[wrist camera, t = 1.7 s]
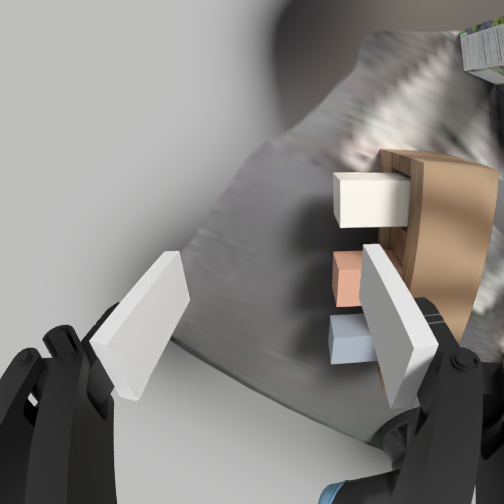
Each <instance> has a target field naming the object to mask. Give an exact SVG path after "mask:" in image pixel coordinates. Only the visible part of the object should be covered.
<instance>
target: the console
mask: <svg viewBox="0 0 504 504" xmlns="http://www.w3.org/2000/svg"><path fill="white" fill-rule="evenodd" d="M381 173H405V174H407V175H409V176H411V183H410V203H409V217H408V226H399V227H379V234H378V244H380V246H381V247H382V249H383V250H393V252H394V253H395V254H396V256H397V257H398V259H399V260H400V262H401V263H402V264H403V268H402V275H401V279H402V280H403V282H404V283H405V285H406V287H407V288H408V290H409V292H410V293H411V295H412V297H413V298H418V297H425V298H427V299H428V300H429V301H431V302H432V303H433V304H434V305H435V306H436V308H437V309H438V311H439V312H440V315H441V316H442V317H443V319H444V322H446V324H447V325H448V327H449V329H450V330H451V332H452V334H453V336H454V337H455V339H456V341H457V343H458V344H459V342H460V340H461V337H462V335H463V332H464V330H465V327H466V324H467V322H468V319H469V316H470V313H471V310H472V307H473V304H474V301H475V298H476V294H477V291H478V288H479V284H480V281H481V277H482V273H483V269H484V265H485V261H486V257H487V252H488V248H489V243H490V238H491V232H492V226H493V220H494V213H495V206H496V198H497V188H498V176H499V170H496V169H493V168H491V167H488V166H485V165H481V164H478V163H475V162H472V161H469V160H465V159H462V158H459V157H455V156H451V155H448V154H444V153H437V152H426V151H412V150H395V149H381ZM376 365H377V369H378V373H379V377H380V381H381V385H382V389H383V390H386V389H385V385H384V381H383V377H382V373H381V369H380V366H379V362H378V361H376Z"/></svg>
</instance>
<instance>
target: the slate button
mask: <svg viewBox="0 0 504 504" xmlns="http://www.w3.org/2000/svg"><path fill="white" fill-rule="evenodd" d="M328 343H329V352H330V360H331V364H343V363H356V362H368V361H378V358H377V355H376V351H375V348H374V344H373V341H372V338H371V334H370V331H369V328H368V324H367V321H366V318H365V315H364V314H348V315H330V326H329V338H328Z"/></svg>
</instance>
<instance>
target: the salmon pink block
mask: <svg viewBox="0 0 504 504" xmlns="http://www.w3.org/2000/svg"><path fill="white" fill-rule="evenodd" d="M384 252H385V253H386V255H387V256H388V258H389V260H390V261H391V263H392V264H393V266H394V267H395V269H396V271H397V272H398V274H399V275H400V277H401V275H402V268H403V264H402V263H401V262H400V260H399V259H398V257H397V256H396V254H395V253H394V252H393V250H384ZM362 255H363V251H339V252H333V275H332V288H333V292H334V297H335V302H336V307H349V306H361V303H360V300H359V289H360V279H361V268H362Z"/></svg>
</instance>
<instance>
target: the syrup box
mask: <svg viewBox="0 0 504 504" xmlns="http://www.w3.org/2000/svg"><path fill="white" fill-rule="evenodd" d="M460 41H461V49H462V58H463V68H464V72H466V73H469V74H472V75H474V76H477V77H479V78H482V79H484V80H486V81H489V82H491V83H493V84H496V85H497V84H504V16H503V17H500V18H496V19H494V20H491V21H488V22H485V23H482V24H479V25H477V26H474V27H471V28H469V29H466V30H463V31H461V32H460Z"/></svg>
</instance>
